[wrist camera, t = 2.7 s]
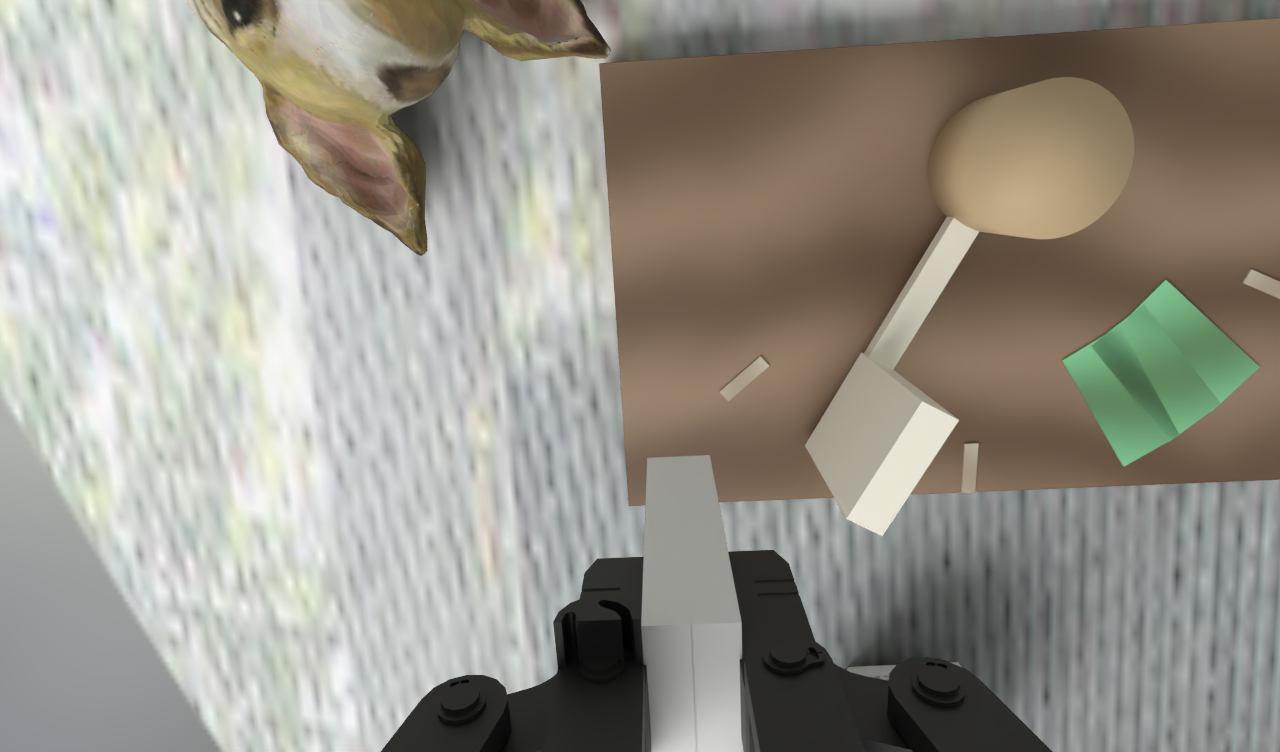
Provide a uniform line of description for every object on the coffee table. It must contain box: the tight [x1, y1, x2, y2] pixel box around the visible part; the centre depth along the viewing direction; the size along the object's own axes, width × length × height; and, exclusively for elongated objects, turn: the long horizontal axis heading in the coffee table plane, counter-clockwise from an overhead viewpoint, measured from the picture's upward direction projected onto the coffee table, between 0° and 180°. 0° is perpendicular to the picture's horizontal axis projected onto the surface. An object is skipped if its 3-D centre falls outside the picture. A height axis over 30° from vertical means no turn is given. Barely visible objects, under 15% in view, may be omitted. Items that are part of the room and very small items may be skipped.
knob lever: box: [805, 77, 1135, 536], centre depth 21 cm, size 14×4×6 cm, turn 153°
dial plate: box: [599, 18, 1280, 506], centre depth 25 cm, size 16×26×2 cm, turn 93°
